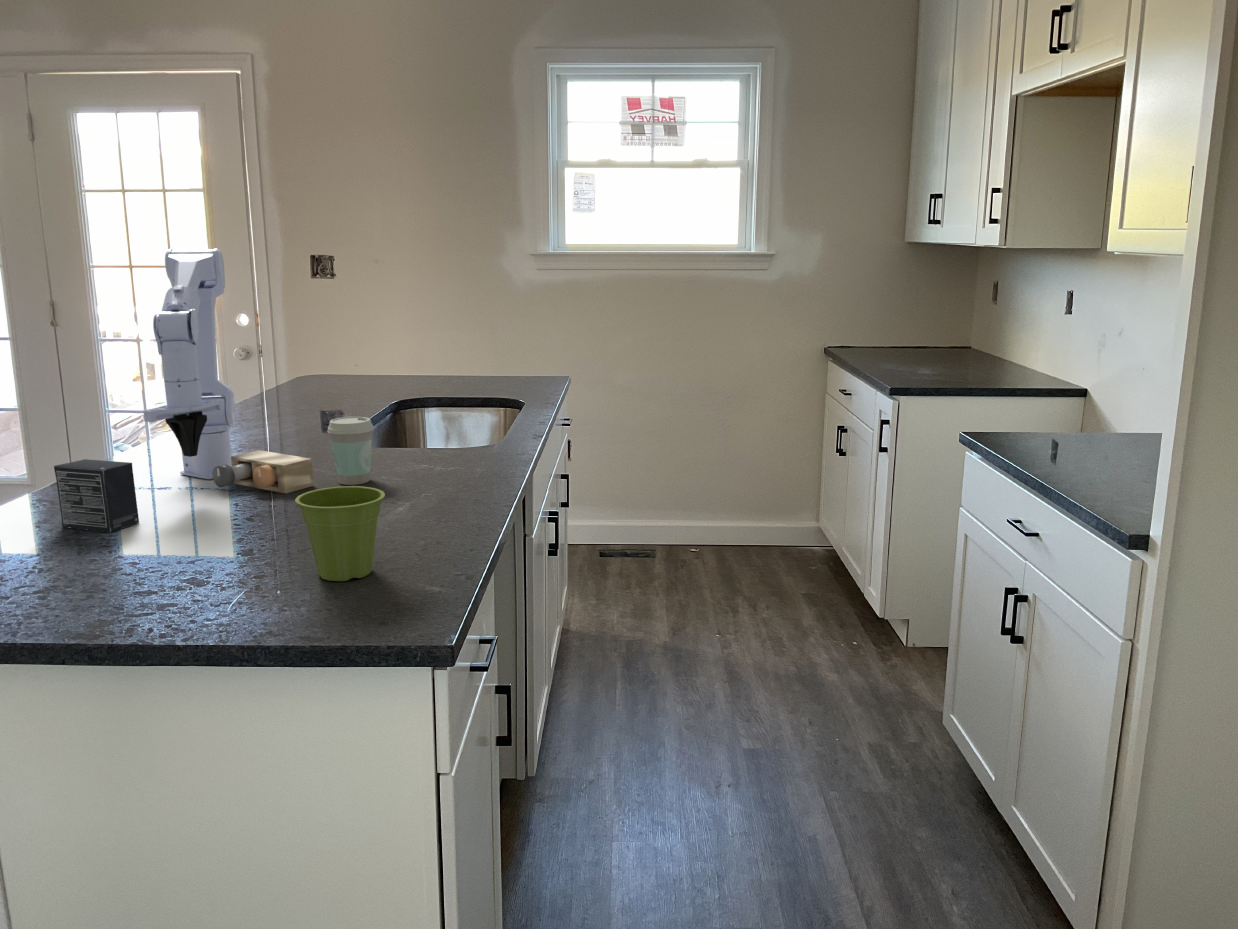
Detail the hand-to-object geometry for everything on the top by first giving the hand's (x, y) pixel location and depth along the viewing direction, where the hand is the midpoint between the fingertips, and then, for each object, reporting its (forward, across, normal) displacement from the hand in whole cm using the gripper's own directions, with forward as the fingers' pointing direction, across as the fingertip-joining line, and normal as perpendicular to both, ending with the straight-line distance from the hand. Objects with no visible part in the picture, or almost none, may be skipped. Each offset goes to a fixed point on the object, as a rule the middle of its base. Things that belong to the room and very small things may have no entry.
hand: (190, 455), depth 173 cm
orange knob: (+7, +12, -7) cm, 16 cm away
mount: (+8, +14, -3) cm, 17 cm away
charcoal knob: (+7, +9, 0) cm, 11 cm away
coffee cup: (+8, +24, -15) cm, 30 cm away
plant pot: (+8, -14, -54) cm, 56 cm away
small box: (+8, -18, -1) cm, 20 cm away
